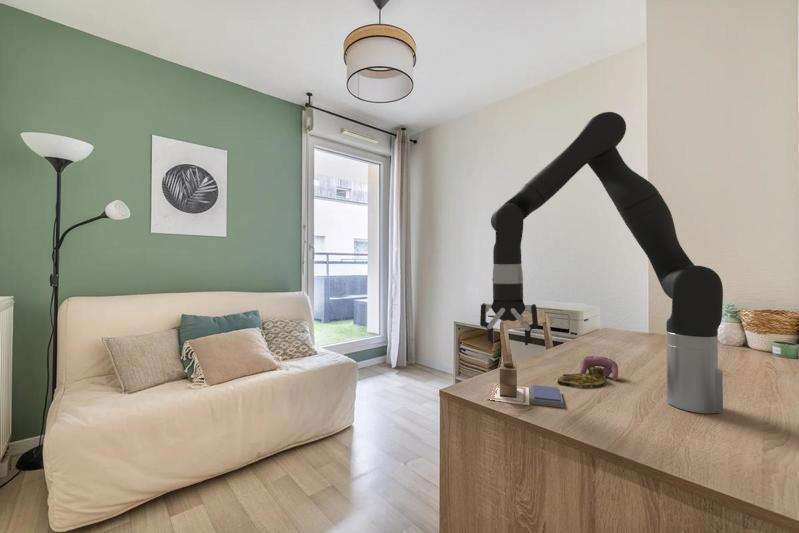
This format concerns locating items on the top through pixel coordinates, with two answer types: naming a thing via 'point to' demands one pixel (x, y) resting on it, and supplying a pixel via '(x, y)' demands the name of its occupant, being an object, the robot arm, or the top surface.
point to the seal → (584, 379)
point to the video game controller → (600, 361)
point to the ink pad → (546, 396)
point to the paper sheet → (520, 399)
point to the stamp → (508, 379)
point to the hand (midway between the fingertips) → (508, 343)
